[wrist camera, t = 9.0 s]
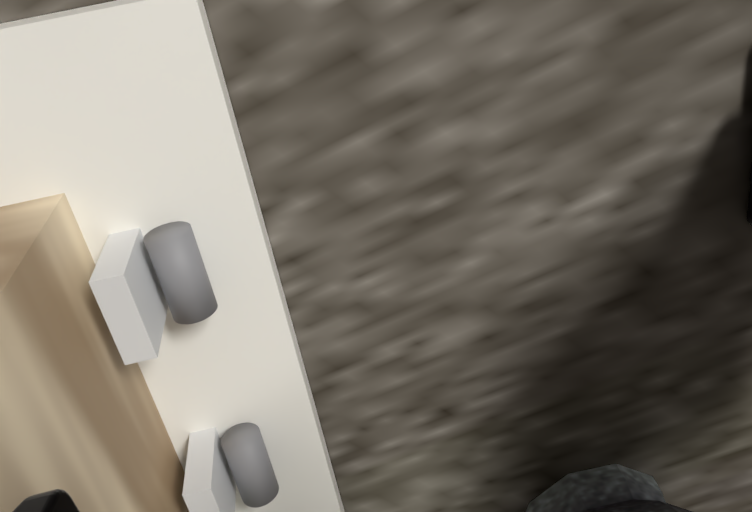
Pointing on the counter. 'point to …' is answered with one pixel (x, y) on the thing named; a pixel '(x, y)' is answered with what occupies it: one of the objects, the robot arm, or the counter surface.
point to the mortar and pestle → (603, 493)
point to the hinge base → (169, 239)
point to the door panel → (71, 379)
